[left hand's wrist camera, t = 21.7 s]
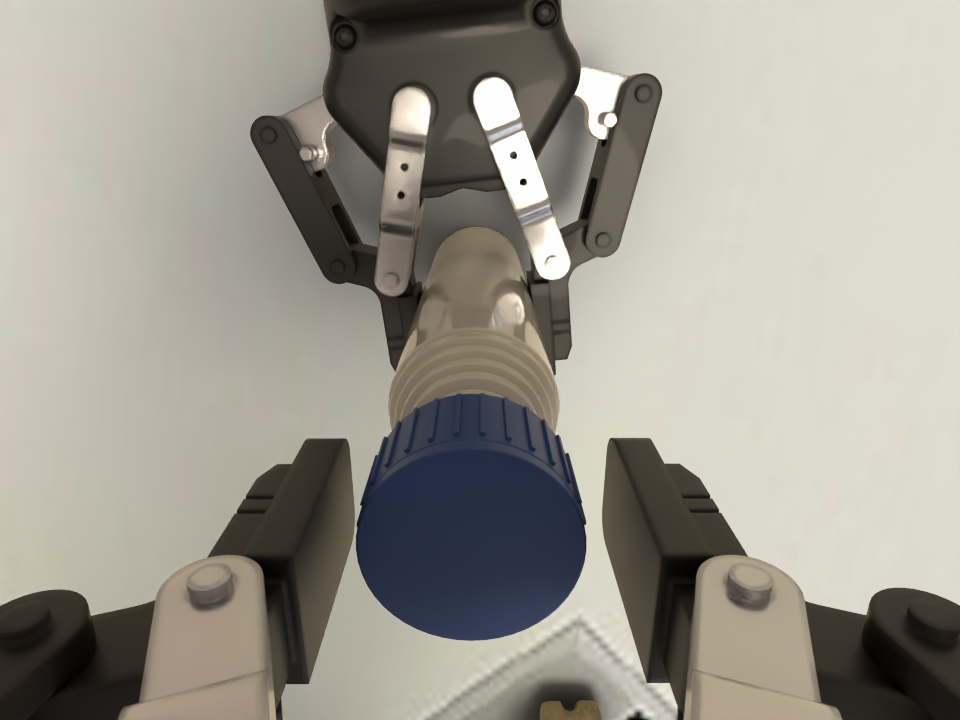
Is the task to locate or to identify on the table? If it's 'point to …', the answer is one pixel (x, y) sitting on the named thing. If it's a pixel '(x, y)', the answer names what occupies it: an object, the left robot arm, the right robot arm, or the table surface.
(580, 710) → the sculpture
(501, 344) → the bottle
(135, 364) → the table surface
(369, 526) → the cap
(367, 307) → the table surface
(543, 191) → the right robot arm
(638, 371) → the table surface
